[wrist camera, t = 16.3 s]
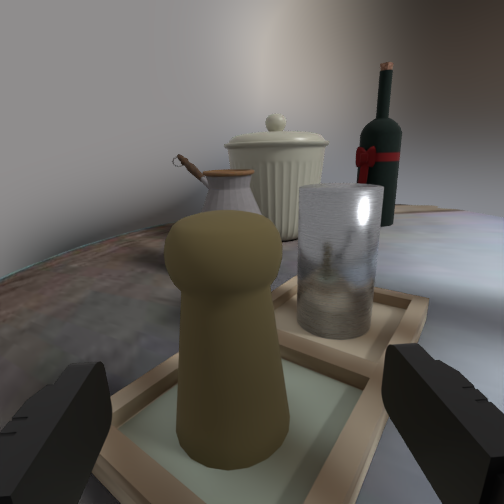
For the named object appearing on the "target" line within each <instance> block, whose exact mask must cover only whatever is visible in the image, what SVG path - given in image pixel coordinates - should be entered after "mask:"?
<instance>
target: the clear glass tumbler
mask: <svg viewBox="0 0 504 504" xmlns="http://www.w3.org/2000/svg"><path fill="white" fill-rule="evenodd" d="M383 193H384V187H383V186H379V185H372V184H359V183H324V184H310V185H304V186H300V187H299V215H298V272H297V322H298V324H299V325H300V326H301V327H302V328H303V329H304V330H305V331H307V332H309V333H311V334H313V335H315V336H318V337H322V338H326V339H333V340H349V339H354V338H358V337H361V336H363V335H365V334H366V333H367V332H368V331H369V329H370V327H371V317H372V307H373V297H374V286H375V276H376V266H377V255H378V245H379V235H380V224H381V214H382V204H383Z"/></svg>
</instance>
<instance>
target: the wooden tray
mask: <svg viewBox="0 0 504 504" xmlns="http://www.w3.org/2000/svg"><path fill="white" fill-rule="evenodd" d="M271 294H272V301H273V307H274V314H275V320H276V327H277V334H278V340H279V347H280V353H281V360H282V367H283V373H284V380H285V386H286V393H287V400H288V406H289V413H290V423H289V432H288V434H287V436H286V438H285V440H284V442H283V444H282V446H281V447H280V448H279V449H278V450H276V451H275V452H274V453H273V454H272V455H271V456H270V457H269V458H268V459H266V460H264V461H262V462H260V463H258V464H256V465H254V466H251V467H249V468H243V469H236V470H230V471H226V470H220V469H214V468H208V467H206V466H204V465H202V464H200V463H198V462H196V461H194V460H193V459H191V458H190V457H189V456H188V455H187V453H186V452H185V451H184V450H183V449H182V447H181V446H180V444H179V440H178V437H177V434H176V414H177V388H178V363H179V352H178V353H177V354H175V355H173V356H172V357H170V358H169V359H167V360H166V361H164V362H163V363H161V364H160V365H158V366H157V367H155V368H154V369H152V370H150V371H149V372H147V373H146V374H144V375H143V376H141V377H140V378H138V379H137V380H135V381H134V382H132V383H130V384H129V385H127V386H126V387H124V388H123V389H121V390H120V391H118V392H117V393H115V394H114V395H112V396H111V397H110V398H111V403H112V422H111V427H110V430H109V433H108V436H107V438H106V440H105V442H104V445H103V447H102V449H101V452H100V454H99V456H98V458H97V461H96V463H95V465H94V468H93V470H92V473H93V475H94V476H95V477H96V478H97V479H98V480H99V481H100V482H101V483H102V484H103V485H104V486H105V487H106V488H107V489H108V490H109V492H110V493H111V494H112V495H113V496H114V497H115V498H116V499H117V500H118V501H119V502H120V503H121V504H355V502H356V500H357V497H358V494H359V492H360V489H361V487H362V484H363V482H364V479H365V476H366V474H367V471H368V469H369V466H370V464H371V461H372V458H373V456H374V453H375V451H376V448H377V446H378V443H379V440H380V438H381V435H382V433H383V430H384V428H385V425H386V422H387V420H388V417H389V415H388V414H387V412H386V410H385V407H384V404H383V401H382V395H381V386H382V377H383V369H384V360H385V352H386V348H387V346H388V345H390V344H405V343H418V340H419V337H420V335H421V332H422V330H423V327H424V325H425V322H426V317H427V311H428V304H429V298H425V297H420V296H416V295H411V294H406V293H401V292H397V291H392V290H387V289H382V288H378V287H374V297H373V307H372V317H371V327H370V329H369V331H368V332H367V333H366V334H365V335H363V336H361V337H358V338H354V339H349V340H333V339H326V338H322V337H318V336H315V335H313V334H311V333H309V332H307V331H305V330H304V329H303V328H302V327H301V326H300V325H299V324H298V322H297V275H296V276H295V277H293V278H292V279H290V280H289V281H287V282H285V283H284V284H282V285H281V286H279V287H278V288H276V289H275V290H273V291H272V292H271Z"/></svg>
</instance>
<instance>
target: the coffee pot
mask: <svg viewBox="0 0 504 504" xmlns="http://www.w3.org/2000/svg"><path fill="white" fill-rule="evenodd" d="M177 157H178V159H179V160H180V161H181V164H182V165H181V166H183V165H184V166H185V167H186V168H187V170H188V171H189V172H190V173H191V174H192V175H194V176H195V177H196V178H197V179H199V180H200V181H201V182H202V183H203V184H204V185H205V186H206V187H207V188H208V189H209V190H208V193H207V196H206V199H205V203H204V205H203V208H202V211H201V213H202V212H208V211H215V210H239V211H246V212H252V213H257V214H260V215H262V214H261V212H260V210H259V207H258V205H257V203H256V201H255V198H254V196H253V194H252V192H251V189H250V180H251V175H252V174H254V172H255V171H254V170H252V169H230V170H229V169H228V170H212V171H204V172H203V174H202V173H201V172H200V171H199V170H198V169H197V168H196V166H195V165H194V164H192V163H190V162H189V161H188V159H187V158H184V157H183V156H182V155H180V154H178V155H177ZM177 157H176V158H177ZM174 159H175V158H173V161H174ZM173 161H172V162H173ZM173 164H174V163H173ZM175 166H176V165H175ZM181 166H177V167H181ZM204 175H205V176H206V178H207V179H206V178H205V177H204Z"/></svg>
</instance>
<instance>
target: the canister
mask: <svg viewBox="0 0 504 504" xmlns="http://www.w3.org/2000/svg"><path fill="white" fill-rule="evenodd" d="M285 126H286V119H285V117H284V116H283V115H281V114H272V115H270V116H268V117H267V119H266V127H267V129H268V131H269V132H259V133H249V134H243V135H238V136H235V137H233V138H232V139H231V140H230V141H229V143H228V144H224V147H225V148H227V149H228V154H229V162H230V169H252V170H254V171H255V172H254V174H252V175H251V180H250V189H251V192H252V194H253V196H254V198H255V201H256V203H257V205H258V207H259V210H260V212H261V214H262V215H263V216H265V217H266V218H268V219H270V220H271V221H272V222H273V224H274V225H275V227H276V228H277V230H278V232H279V234H280V238H281V241H285V240H292V239H297V238H298V215H299V187H300V186H304V185H310V184H320V181H321V174H322V167H323V160H324V152H325V147H326V146H327V145H328V144H329V141H326V140H324V138H323V137H322V136H321V135H319V134H317V133H312V132H301V131H283V130H284V128H285Z"/></svg>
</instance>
